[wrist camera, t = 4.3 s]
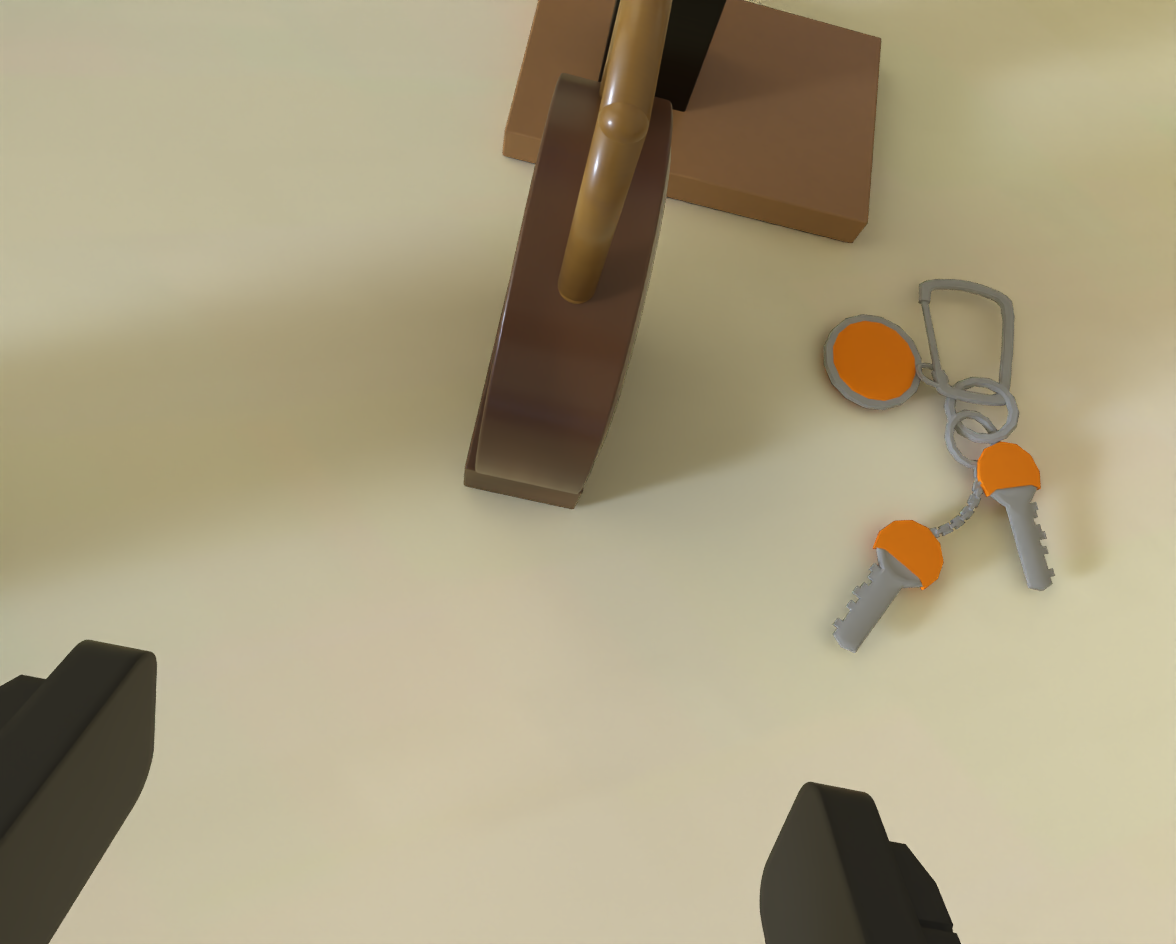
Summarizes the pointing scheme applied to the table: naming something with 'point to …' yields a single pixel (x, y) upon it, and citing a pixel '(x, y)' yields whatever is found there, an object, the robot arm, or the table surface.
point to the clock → (578, 272)
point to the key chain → (1004, 470)
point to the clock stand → (732, 106)
